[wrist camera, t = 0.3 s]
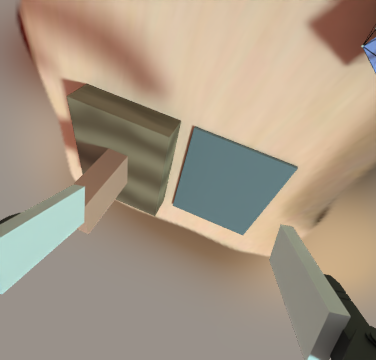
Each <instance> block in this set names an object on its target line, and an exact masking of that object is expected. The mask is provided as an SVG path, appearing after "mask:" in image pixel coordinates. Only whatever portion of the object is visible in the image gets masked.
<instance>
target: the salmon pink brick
mask: <svg viewBox="0 0 376 360" xmlns="http://www.w3.org/2000/svg"><path fill="white" fill-rule="evenodd" d="M127 171H128V156H126V155H124V154H121V153H119V152H116V151H114V150H111V149H108V150H107V151H106V152H105V153H104V154H103V155H102V156H101V157H100V158H99V159H98V160H97V161H96V162H95V163H94V164H93V165H92V166H91V167H90V168H89V169H88V170H87V171H86V172H85V173H84V174H83V175H82V176H81V177H80V178H79V179H78V180H77V181H76V182H75V183H74V184H75V185H80V186H85V210H84V223H83V224H82V225H81V226H80V227H78V228H77V229H78V230H80V231H82V232H85V233H87V234H89V233H90V232H91V231H92V229H93V228H94V227H95V225H96V224H97V223H98V221H99V220H100V218H101V217H102V216H103V215H104V213H105V212H106V211H107V209H108V208H109V207H110V205H111V204H112V203H113V201H114V200H115V199H116V197H117V196H118V195H119V193H120V192H121V191H122V189H123V188H124V187H125V185H126V184H127Z"/></svg>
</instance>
